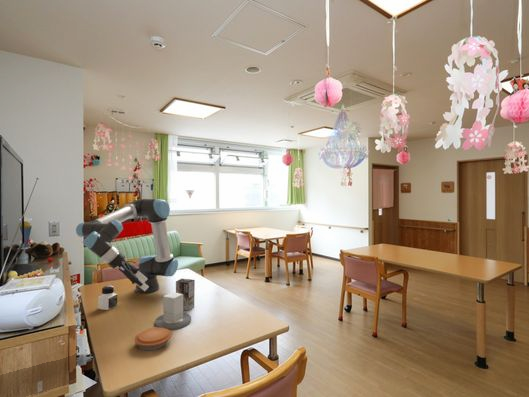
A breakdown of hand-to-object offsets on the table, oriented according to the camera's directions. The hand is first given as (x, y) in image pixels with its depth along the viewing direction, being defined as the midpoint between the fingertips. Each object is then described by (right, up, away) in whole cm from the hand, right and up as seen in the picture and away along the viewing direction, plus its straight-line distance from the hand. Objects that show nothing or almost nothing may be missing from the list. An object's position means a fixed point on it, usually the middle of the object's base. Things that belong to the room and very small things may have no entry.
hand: (146, 284), depth 146 cm
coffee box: (+14, -20, +21) cm, 32 cm away
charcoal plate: (+13, -20, +3) cm, 24 cm away
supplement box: (+13, -19, +3) cm, 23 cm away
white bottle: (-31, -19, +20) cm, 41 cm away
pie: (+11, -21, -19) cm, 30 cm away
